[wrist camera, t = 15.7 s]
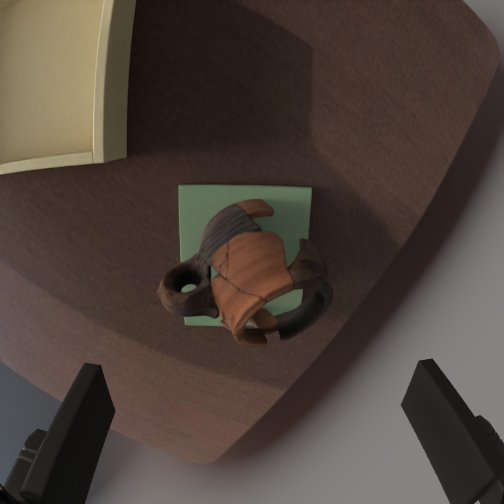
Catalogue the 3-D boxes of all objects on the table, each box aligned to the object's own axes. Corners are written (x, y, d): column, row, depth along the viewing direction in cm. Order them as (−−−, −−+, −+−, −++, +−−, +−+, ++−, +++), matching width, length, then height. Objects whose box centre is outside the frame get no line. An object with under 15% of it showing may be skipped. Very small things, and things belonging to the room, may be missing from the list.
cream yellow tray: (142, -37, 17) (127, -64, 12) (127, 157, 23) (103, 163, 18) (-37, 25, 15) (-64, 19, 11) (-48, 180, 21) (-78, 189, 17)
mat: (310, 187, 24) (312, 188, 24) (298, 321, 28) (299, 325, 28) (179, 184, 24) (178, 185, 23) (185, 321, 28) (185, 325, 27)
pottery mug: (297, 178, 24) (358, 252, 19) (288, 262, 31) (330, 332, 25) (137, 217, 21) (155, 313, 16) (164, 298, 28) (187, 381, 23)
